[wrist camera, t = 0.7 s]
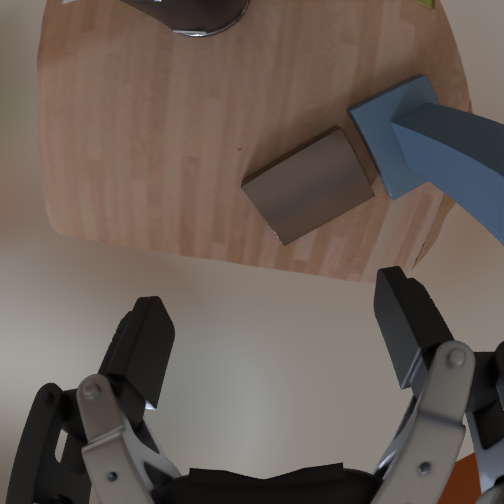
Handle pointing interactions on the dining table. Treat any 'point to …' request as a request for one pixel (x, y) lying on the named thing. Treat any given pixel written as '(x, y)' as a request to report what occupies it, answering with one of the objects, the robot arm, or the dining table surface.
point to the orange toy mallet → (462, 483)
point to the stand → (435, 149)
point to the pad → (309, 186)
